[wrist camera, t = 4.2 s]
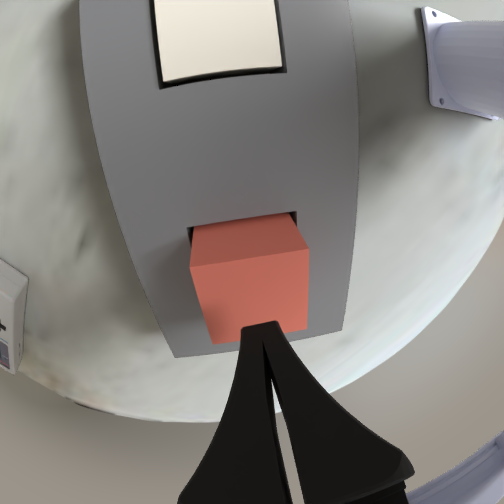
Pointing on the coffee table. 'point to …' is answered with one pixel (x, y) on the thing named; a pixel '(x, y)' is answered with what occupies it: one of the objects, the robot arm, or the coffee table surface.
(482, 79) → the robot arm
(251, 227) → the red plug
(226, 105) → the console
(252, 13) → the plug
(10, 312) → the handheld gaming device
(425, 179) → the coffee table surface
